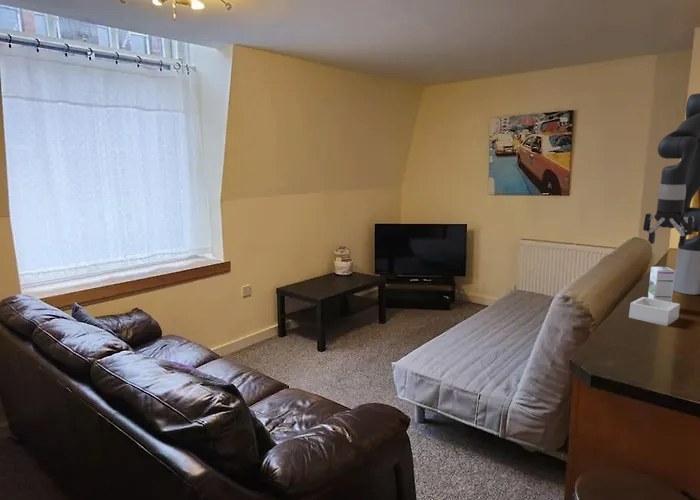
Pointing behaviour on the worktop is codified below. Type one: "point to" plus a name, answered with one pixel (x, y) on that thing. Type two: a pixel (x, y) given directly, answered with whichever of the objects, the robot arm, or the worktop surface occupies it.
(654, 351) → the worktop surface
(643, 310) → the bin
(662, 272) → the syrup box
